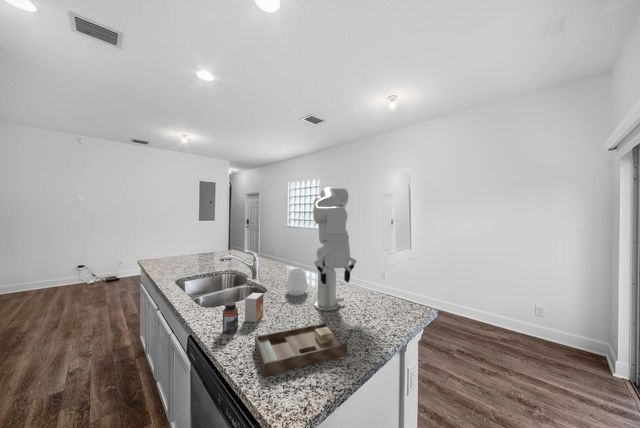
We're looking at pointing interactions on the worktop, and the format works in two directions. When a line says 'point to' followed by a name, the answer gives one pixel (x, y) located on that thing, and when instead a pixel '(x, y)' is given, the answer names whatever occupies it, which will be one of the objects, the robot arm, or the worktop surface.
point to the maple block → (323, 335)
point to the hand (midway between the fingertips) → (335, 282)
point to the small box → (254, 307)
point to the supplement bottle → (230, 318)
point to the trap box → (295, 349)
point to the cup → (296, 282)
